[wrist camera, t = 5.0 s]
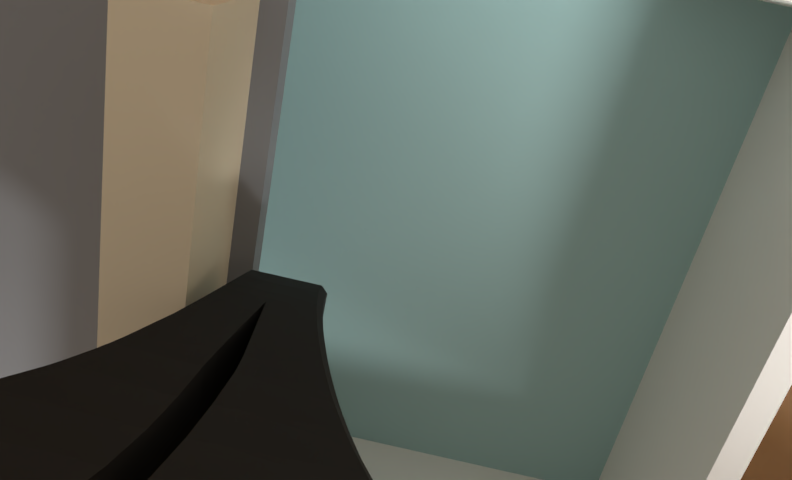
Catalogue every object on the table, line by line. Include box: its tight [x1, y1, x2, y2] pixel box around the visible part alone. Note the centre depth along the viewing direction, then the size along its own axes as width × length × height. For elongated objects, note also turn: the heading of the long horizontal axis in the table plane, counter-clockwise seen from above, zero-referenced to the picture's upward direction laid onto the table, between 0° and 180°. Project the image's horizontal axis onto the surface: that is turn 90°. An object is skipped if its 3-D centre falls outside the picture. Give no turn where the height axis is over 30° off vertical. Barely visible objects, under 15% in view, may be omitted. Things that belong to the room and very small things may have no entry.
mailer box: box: [259, 0, 792, 480], centre depth 15 cm, size 14×18×5 cm
